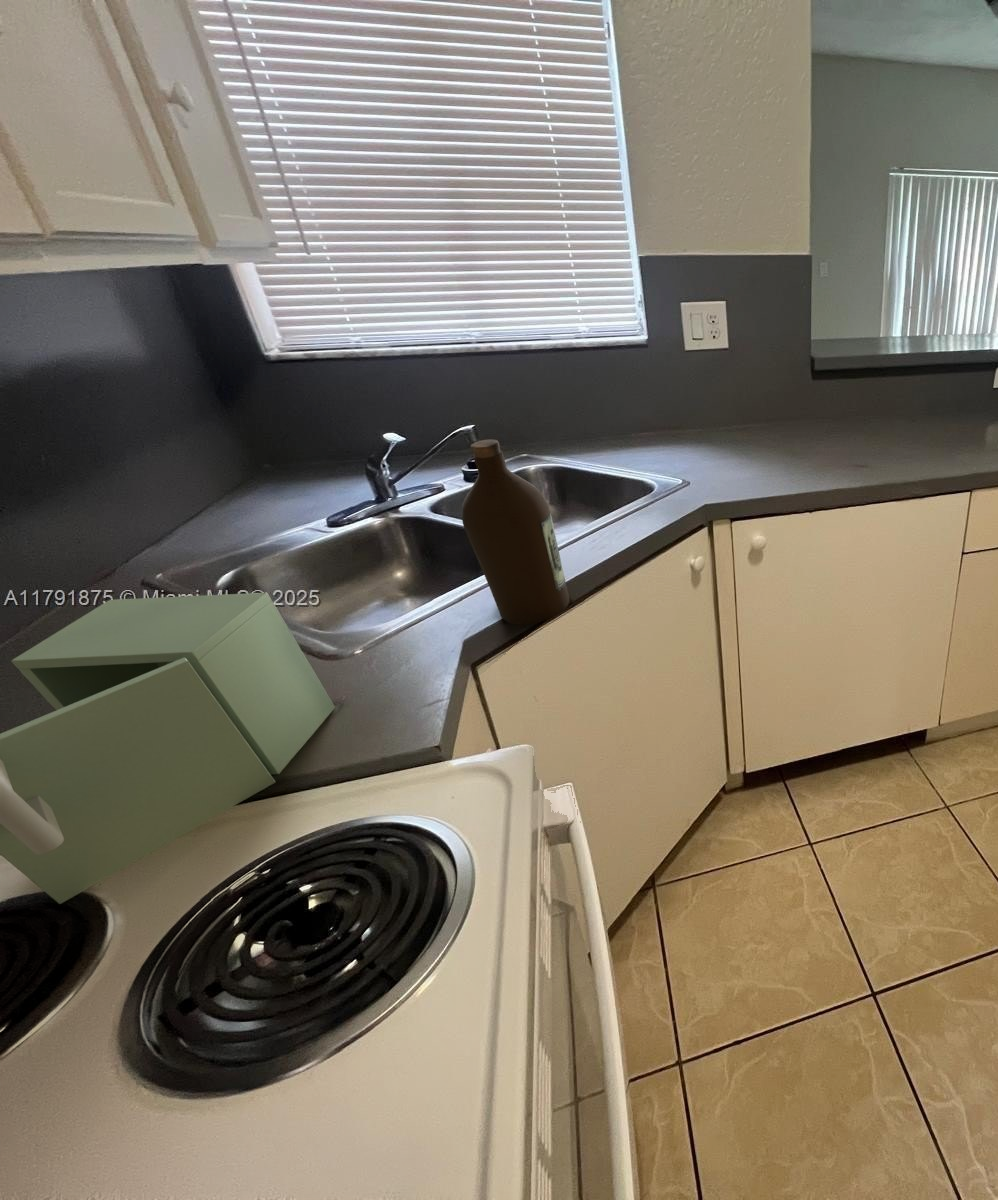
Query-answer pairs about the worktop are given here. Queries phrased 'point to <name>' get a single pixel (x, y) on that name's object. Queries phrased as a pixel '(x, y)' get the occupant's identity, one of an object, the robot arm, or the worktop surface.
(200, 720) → the cupboard door
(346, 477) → the worktop surface
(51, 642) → the cupboard
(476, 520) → the olive oil
